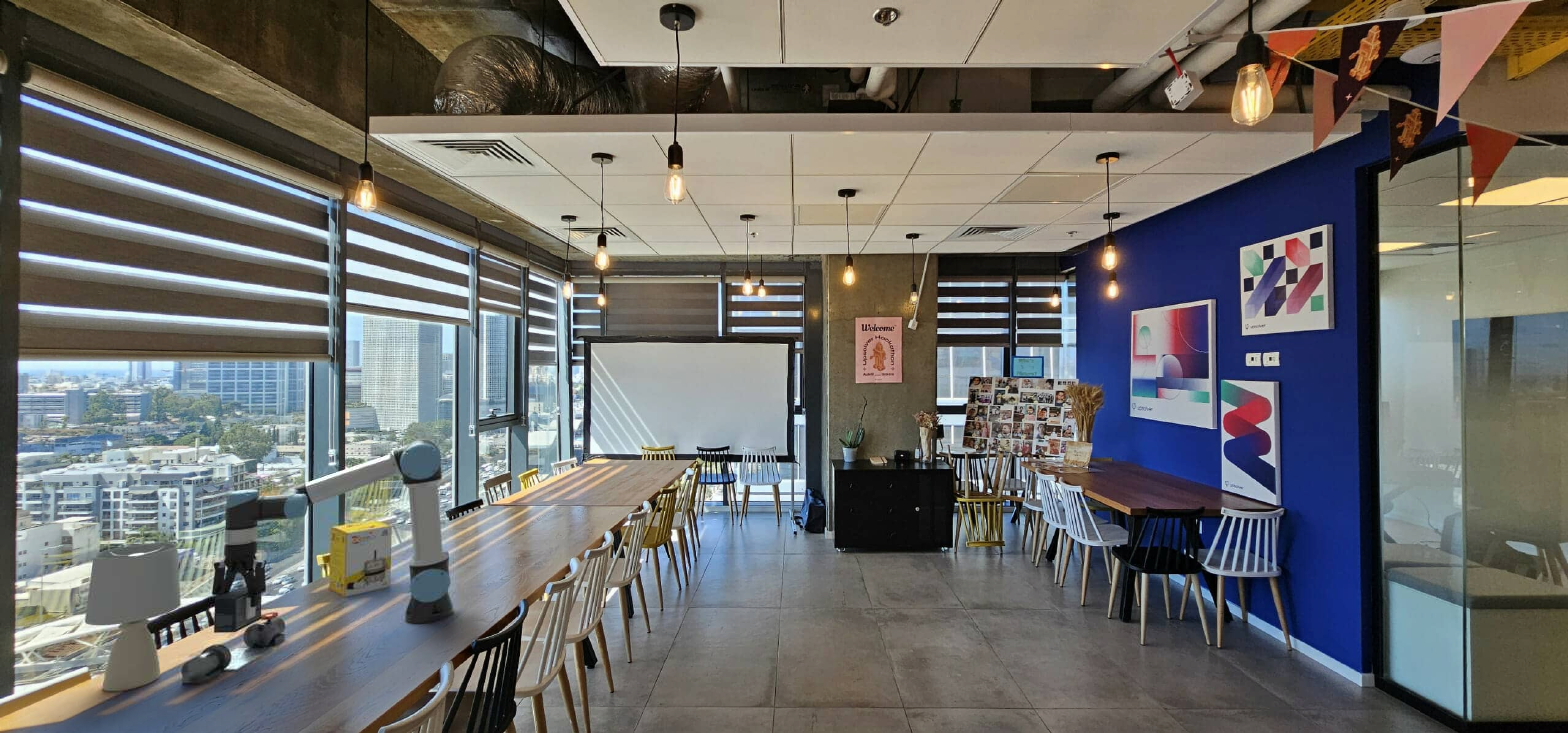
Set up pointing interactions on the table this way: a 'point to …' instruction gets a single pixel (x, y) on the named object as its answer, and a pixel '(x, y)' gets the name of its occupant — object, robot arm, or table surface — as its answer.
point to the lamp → (133, 607)
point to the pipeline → (235, 651)
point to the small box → (234, 611)
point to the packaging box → (360, 557)
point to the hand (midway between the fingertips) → (238, 617)
